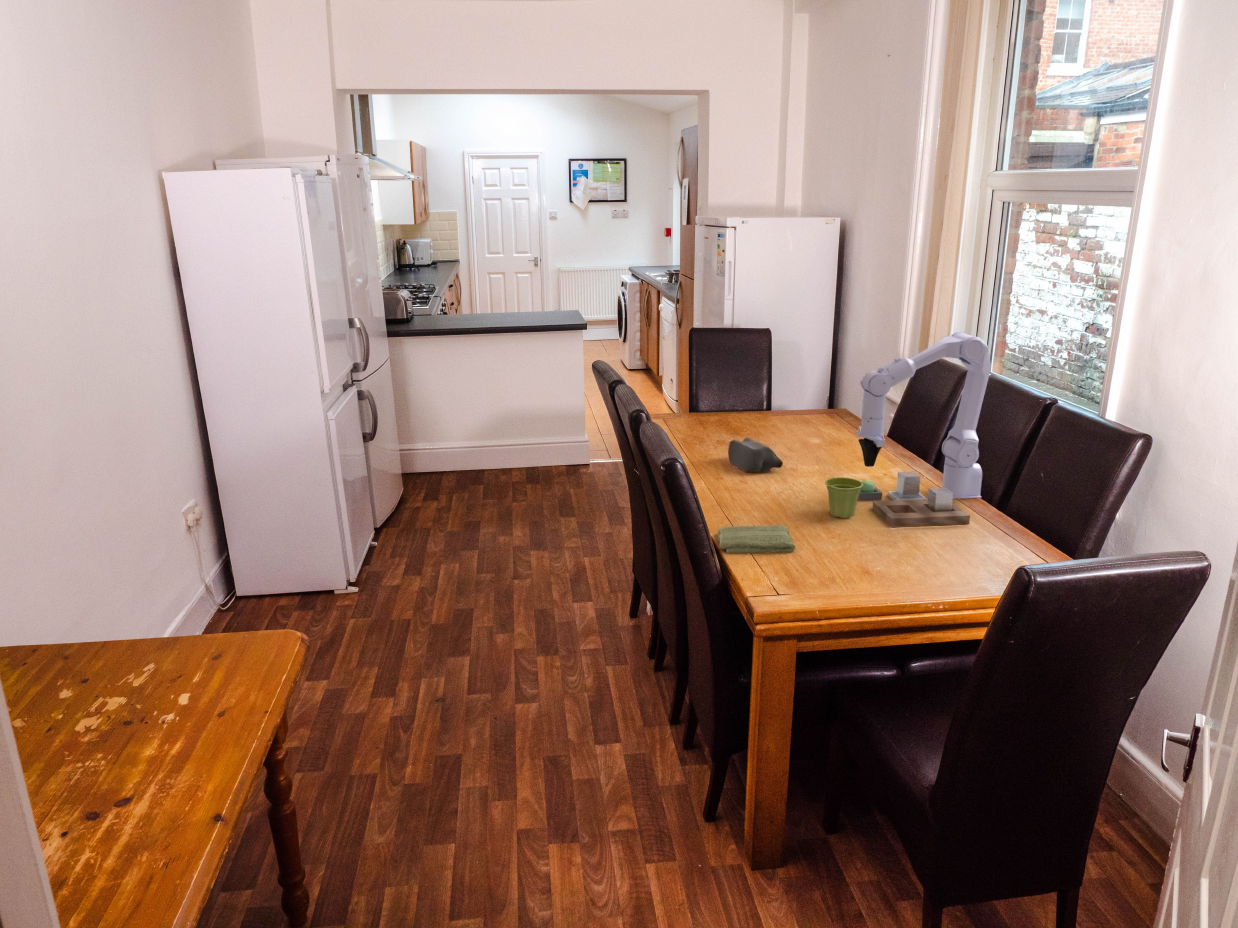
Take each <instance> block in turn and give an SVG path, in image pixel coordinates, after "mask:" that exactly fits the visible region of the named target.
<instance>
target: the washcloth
mask: <svg viewBox="0 0 1238 928" xmlns="http://www.w3.org/2000/svg"><path fill="white" fill-rule="evenodd" d="M717 540H718V542H719V549H722V550H726V554H762V553H763V554H771V553H772V554H775V553H776V554H777V553H791V552H794V551H795V549H796V545H795V543H794V541H793V539H792V538H791V535H790V530H789V529H788V527H787V526H786V525H783V524H773V525H751V526H749V525H748V526H747V525H746V526H743V525H740V526H724V527H721V528H719V529H718V530H717Z"/></svg>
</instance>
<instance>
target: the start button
mask: <svg viewBox="0 0 1238 928" xmlns="http://www.w3.org/2000/svg"><path fill="white" fill-rule="evenodd" d="M861 482H862V483H863V486H862V487H861V491H862V492H874V488H875V487H876V483H875V482H874V481H871V480H862V481H861Z"/></svg>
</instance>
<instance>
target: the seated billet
mask: <svg viewBox="0 0 1238 928" xmlns="http://www.w3.org/2000/svg"><path fill="white" fill-rule="evenodd" d="M927 493H928V495H927V499H928V504H927V508H929V509H930V510H931V511H932V512H945V511H951V510H952V503H953V500H954V499H953V493H952V492H951V491H950V490H948V489H947V488H942V487H930V488H928V492H927Z"/></svg>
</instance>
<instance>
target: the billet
mask: <svg viewBox="0 0 1238 928" xmlns="http://www.w3.org/2000/svg"><path fill="white" fill-rule="evenodd" d="M921 478H922V477H921V475H919V474H918V473H917V472H915V471H897V478H896V479H897V480H896V490H895V491H896V497H897V498H898V499H915V498H919V493H920V486H921Z"/></svg>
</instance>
